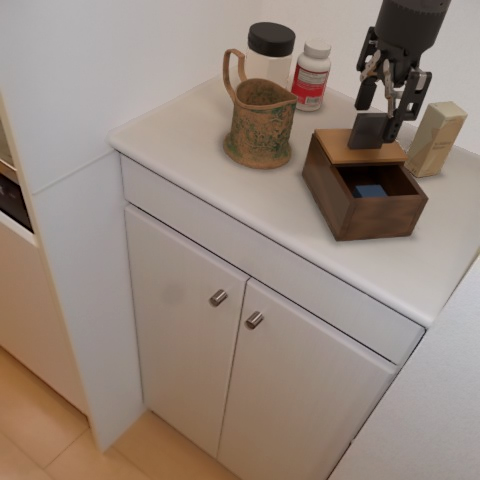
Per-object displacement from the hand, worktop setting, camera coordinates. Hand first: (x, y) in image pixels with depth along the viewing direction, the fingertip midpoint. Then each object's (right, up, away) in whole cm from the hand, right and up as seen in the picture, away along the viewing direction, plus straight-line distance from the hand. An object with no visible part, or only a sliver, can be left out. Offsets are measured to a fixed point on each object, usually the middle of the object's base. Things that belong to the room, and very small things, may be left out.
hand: (372, 125), depth 73 cm
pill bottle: (-6, +14, +26) cm, 30 cm away
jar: (-14, +14, +26) cm, 33 cm away
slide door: (-1, -2, +4) cm, 4 cm away
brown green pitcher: (-17, +3, +16) cm, 24 cm away
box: (+12, -1, +17) cm, 21 cm away
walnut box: (-1, -9, +8) cm, 12 cm away
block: (0, -12, +5) cm, 13 cm away
